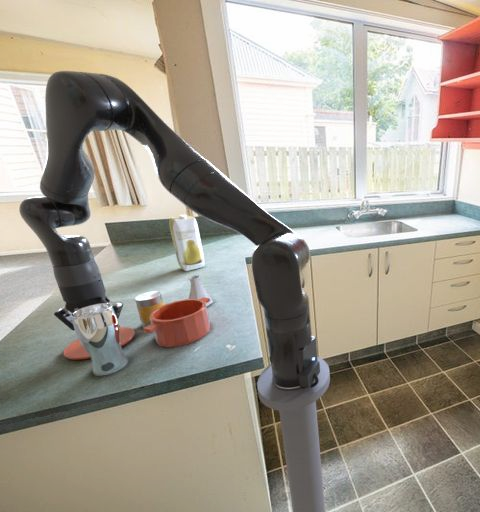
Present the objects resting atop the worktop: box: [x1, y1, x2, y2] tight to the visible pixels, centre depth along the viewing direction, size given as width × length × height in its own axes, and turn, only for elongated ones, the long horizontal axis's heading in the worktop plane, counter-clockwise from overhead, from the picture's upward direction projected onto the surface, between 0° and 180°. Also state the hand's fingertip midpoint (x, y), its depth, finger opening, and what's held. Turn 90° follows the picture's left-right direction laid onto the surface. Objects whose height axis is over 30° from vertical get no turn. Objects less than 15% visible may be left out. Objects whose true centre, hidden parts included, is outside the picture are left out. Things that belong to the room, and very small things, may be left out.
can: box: [134, 290, 165, 329], centre depth 86 cm, size 6×6×9 cm
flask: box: [188, 274, 214, 307], centre depth 97 cm, size 7×7×10 cm
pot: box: [142, 297, 211, 348], centre depth 81 cm, size 13×18×8 cm
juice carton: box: [168, 214, 205, 272], centre depth 129 cm, size 9×8×24 cm
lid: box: [63, 326, 136, 361], centre depth 76 cm, size 14×14×6 cm
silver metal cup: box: [71, 303, 129, 377], centre depth 66 cm, size 7×7×15 cm
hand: (100, 340), depth 77 cm, fingers closed on lid, 2 cm apart
